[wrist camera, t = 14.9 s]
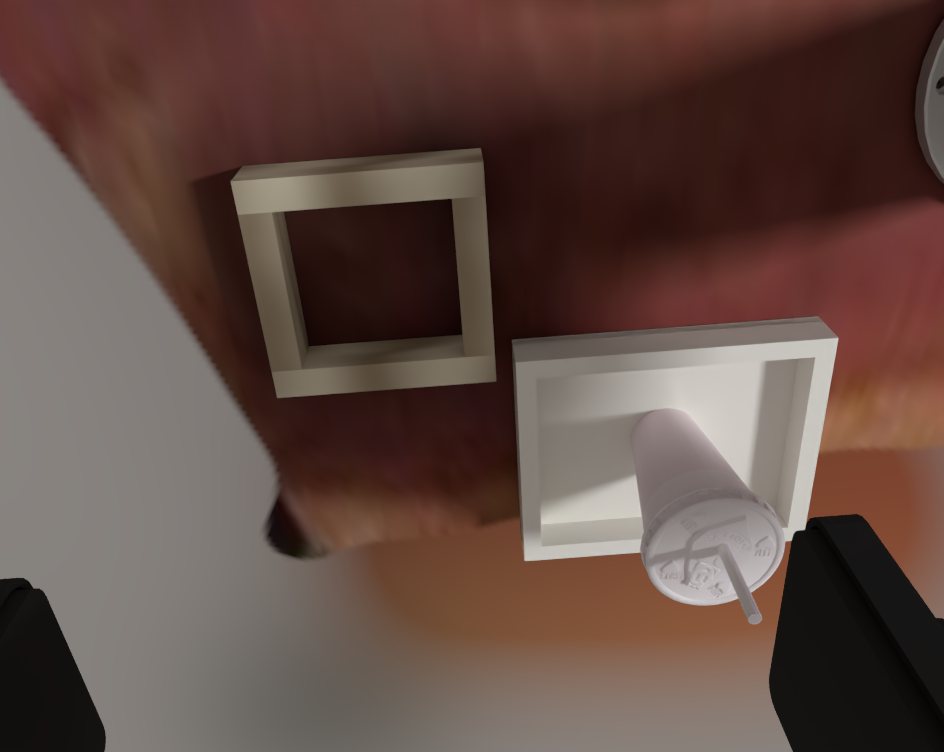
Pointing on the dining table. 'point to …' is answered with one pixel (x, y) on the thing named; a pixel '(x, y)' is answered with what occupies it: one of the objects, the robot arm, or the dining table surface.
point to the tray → (652, 388)
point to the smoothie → (700, 517)
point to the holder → (357, 184)
